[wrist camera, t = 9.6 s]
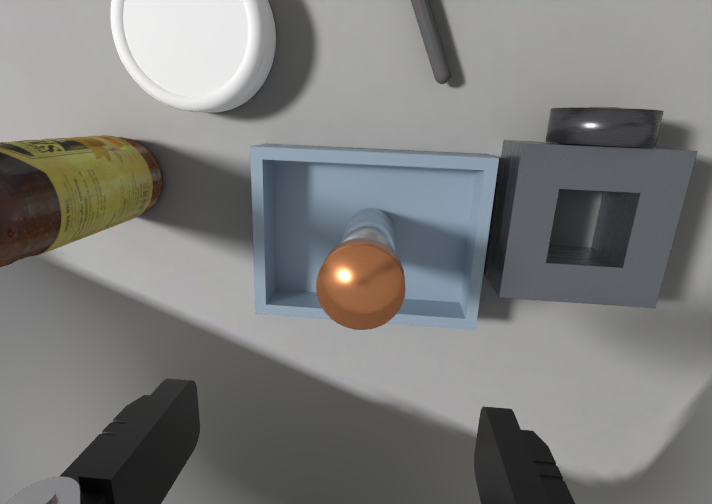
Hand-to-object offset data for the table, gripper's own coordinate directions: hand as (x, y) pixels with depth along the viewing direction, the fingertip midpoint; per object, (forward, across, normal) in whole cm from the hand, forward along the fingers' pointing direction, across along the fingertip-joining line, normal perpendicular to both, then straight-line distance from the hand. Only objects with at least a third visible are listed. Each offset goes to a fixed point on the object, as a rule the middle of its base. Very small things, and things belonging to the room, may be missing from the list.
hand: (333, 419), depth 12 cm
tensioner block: (+22, -14, -3) cm, 26 cm away
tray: (+22, 0, 0) cm, 22 cm away
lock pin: (+21, 0, 0) cm, 21 cm away
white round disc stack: (+22, +12, -13) cm, 28 cm away
